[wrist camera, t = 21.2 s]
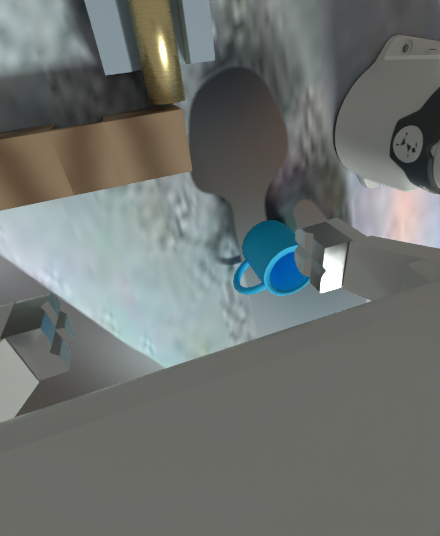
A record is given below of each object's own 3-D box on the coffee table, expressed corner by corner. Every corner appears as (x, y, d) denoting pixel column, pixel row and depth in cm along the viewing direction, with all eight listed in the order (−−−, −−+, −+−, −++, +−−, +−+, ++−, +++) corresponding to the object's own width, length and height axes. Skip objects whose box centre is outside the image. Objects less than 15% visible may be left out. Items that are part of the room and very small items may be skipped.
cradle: (191, -62, 27) (201, -78, 24) (205, 61, 32) (215, 60, 29) (69, -55, 25) (64, -71, 22) (105, 75, 30) (105, 75, 27)
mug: (276, 209, 44) (304, 233, 38) (297, 244, 49) (326, 271, 43) (212, 258, 46) (229, 290, 39) (239, 288, 51) (258, 320, 44)
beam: (173, 104, 33) (182, 109, 29) (183, 159, 36) (192, 170, 32) (-26, 136, 29) (-47, 147, 25) (6, 194, 33) (-8, 212, 29)
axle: (149, -103, 24) (154, -127, 21) (181, 97, 32) (188, 100, 29) (103, -101, 23) (101, -126, 20) (148, 103, 31) (151, 106, 28)
